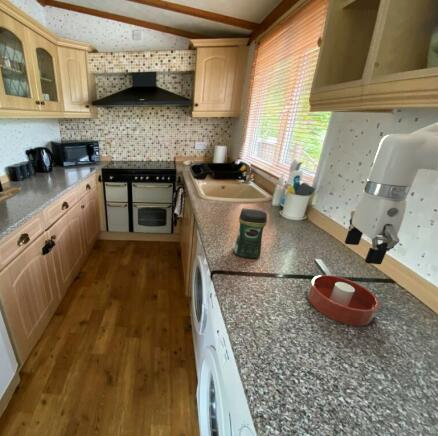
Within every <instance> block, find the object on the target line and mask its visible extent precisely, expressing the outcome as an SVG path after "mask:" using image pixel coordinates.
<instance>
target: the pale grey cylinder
mask: <svg viewBox="0 0 438 436" xmlns="http://www.w3.org/2000/svg"><path fill="white" fill-rule="evenodd" d="M354 292H355V289H354V288H353V287H352V286H351V285H349V284H346V283H343V282H337V283H335V286H334V289H333V291H332V294H331V296H330V300H332V301H334V302H336V303H338V304H340V305H343V306H347V307H348V306H349V303H350V301H351V299H352V296H353V294H354Z"/></svg>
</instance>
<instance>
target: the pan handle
mask: <svg viewBox="0 0 438 436" xmlns="http://www.w3.org/2000/svg"><path fill="white" fill-rule="evenodd" d="M313 263H314V264H315V266H316V267H317V269H318V270H319V271H320V273H321V275H332V276H334V274H333V273H332V272H331V270H330V269H329V268H328V267H327V265H326V264H325V263H324V261H323V260H322V259H320V258H314V260H313Z"/></svg>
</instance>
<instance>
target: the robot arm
mask: <svg viewBox="0 0 438 436" xmlns="http://www.w3.org/2000/svg"><path fill="white" fill-rule="evenodd" d="M422 169H423V170H429V171H430V170H431V171H437V172H438V121H437V122H434V123H432V124H429V125H427V126H425V127H422V128H419V129H417V130H415V131H413V132H410V133H391V134H387V135H385V136H383V138H382V139H381V140H380V142H379V146H378V148H377V151H376V155H375V158H374V159H373V163H372V165H371V168H370V171H369V174H368V177H367V179H366V182H365V186H364V189H363V191H362V194H361V197H360V198H359V200H358V203H357V206H356V208H355V210H353V211H352V210H351V212H350V219H349V221H348V222H349V226H348V228H347V229H348V232H347V235H346V237H345V239H344V244H345V245H352V246H358V245H360V242H361V240H362V237H363V235H364V236H366V237H367V238H369V239H371V245H372V247H369V248H368V252H367V254H366V257H365V259H364V262H365V264H371V265H381V264H382V263H383V261H384V259H385V256H386V254H387V252H390V250H393V249H394V248H395V246H397V244H399V243H400V238H399V236H398V234H399V232H400V229H401V226H402V224H403V221H404V217H405V213H406V209H407V197H408V195H409V192H410V191H411V188H412V185H413V183H414V181H415V179H416V177H417V173H418V171H419V170H422ZM379 241H382V242H381V243H379Z"/></svg>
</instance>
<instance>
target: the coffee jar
mask: <svg viewBox="0 0 438 436" xmlns="http://www.w3.org/2000/svg"><path fill="white" fill-rule="evenodd" d="M238 221H239V228H238V232H237V236H236V240H235V242H234V243H235V244H234V247H233V249H234V253H235V255H237V256H239V257H243V258H249V259H258V258H259V257H261V252H262V240H263V232H264V229H265V227H266V226H267V223H268V213H267V211H266V210H265V209H255V208H245V207H243V208H242V209H241V210H240V214H239V216H238Z"/></svg>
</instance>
